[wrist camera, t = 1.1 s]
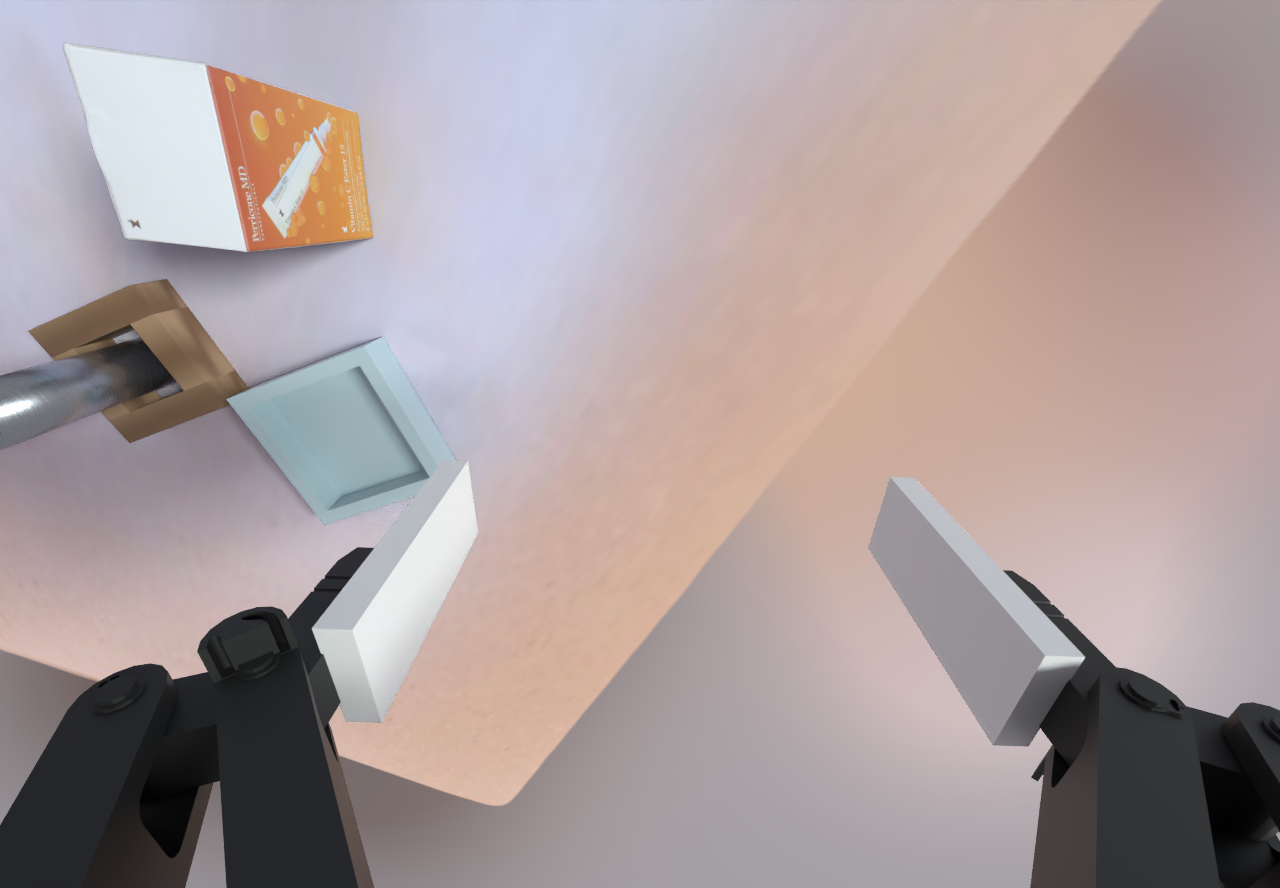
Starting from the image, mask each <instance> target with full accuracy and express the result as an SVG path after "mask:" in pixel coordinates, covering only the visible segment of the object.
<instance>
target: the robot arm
mask: <svg viewBox="0 0 1280 888" xmlns="http://www.w3.org/2000/svg"><path fill="white" fill-rule="evenodd" d="M477 534H478V530H477V523H476V515H475V508H474V501H473V494H472V487H471V480H470V472H469V465H468V461H455V460H443V461H442V462H441V463H440V465H439V466H438V467H437V469H436V470H435V471H434V472H433V474H432V475H431V476H430V478H429V479H428V480H427V481H426V483H425V484H424V485H423V487H422V488H421V489H420V490H419V492H418V493H417V494H416V496H415V497H414V498H413V499H412V501H411V502H410V503H409V504H408V506H407V507H406V508H405V510H404V511H403V512H402V513H401V515H400V516H399V517H398V519H397V520H396V521H395V522H394V524H393V525H392V526H391V528H390V529H389V530H388V531H387V533H386V534H385V535H384V536H383V538H382V539H381V540H380V542H379V543H378V544H377V545H376V547H375V548H360V547H358V548H356V549H355V550H353V551H352V552H350V553H349V554H347V555H346V556H344V557H343V558H341V559H340V560H338V561H337V562H336V564H335V565H334V566H333V567H332V568H331V569H330V571H329V572H328V573H327V574H326V575H325V579H322V580H321V581H320V582H319V583H318V585H317V586H316V587H315V588H314V592H311V593H310V594H309V595H308V596H307V598H306V599H305V600H304V601H303V602H302V603H301V605H300V606H299V607H298V608H297V609H296V610H295V612H294V613H293V614H292V615H291V616H290V617H289V619H288V618H287V616H286V615H285V613H284V612H283V611H282V610H281V609H278V608H274V607H256V608H253V609H249V610H245V611H242V612H239V613H237V614H235V615H233V616H231V617H229V618H227V619H225V620H223V621H222V622H220V623H219V624H218V625H216V626H215V627H213V628H212V629H211V630H210V631H209V632H208V633H207V634H206V635H205V636H204V638H203V639H202V640H201V641H200V645H199V648H198V651H197V652H198V654H199V656H200V657H201V659H202V661H203V663H204V665H205V667H206V669H207V671H208V672H206V673H201V674H197V675H192V676H188V677H183V678H178V679H174V680H172V678H171V676H170V675H169V673H168V671H167V670H166V669H165V668H164V667H163V666H162V665H156V664H144V665H138V666H133V667H130V668H127V669H124V670H121V671H119V672H116V673H114V674H112V675H110V676H108V677H106V678H105V679H103V680H101V681H99V682H97V683H96V684H94V685H93V686H92V687H90V688H89V689H88V690H87V691H85V692H84V693H83V694H81V695H80V696H79V697H78V698H77V699H76V701H75V702H74V703H73V704H72V705H71V707H70V708H69V709H68V711H67V712H66V714H65V716H64V717H63V719H62V721H61V722H60V724H59V726H58V728H57V729H56V731H55V733H54V734H53V736H52V738H51V740H50V741H49V743H48V745H47V746H46V748H45V750H44V751H43V753H42V755H41V757H40V759H39V760H38V762H37V763H36V765H35V767H34V769H33V770H32V772H31V774H30V775H29V777H28V779H27V781H26V782H25V784H24V786H23V787H22V789H21V791H20V792H19V794H18V796H17V798H16V799H15V801H14V803H13V804H12V806H11V808H10V810H9V811H8V813H7V815H6V816H5V818H4V820H3V821H2V823H1V825H0V888H185V886H186V881H187V878H188V875H189V871H190V867H191V864H192V860H193V856H194V852H195V849H196V845H197V841H198V838H199V834H200V830H201V826H202V823H203V819H204V815H205V811H206V808H207V804H208V801H209V797H210V793H211V790H212V786H213V782H217V781H220V788H221V803H222V820H223V836H224V851H225V868H226V885H227V888H374V886H373V882H372V878H371V875H370V871H369V867H368V864H367V860H366V856H365V852H364V849H363V845H362V841H361V837H360V834H359V830H358V827H357V823H356V819H355V815H354V811H353V808H352V804H351V801H350V797H349V793H348V789H347V785H346V782H345V778H344V774H343V771H342V767H341V763H340V760H339V756H338V752H337V748H336V745H335V741H334V737H333V734H332V730H331V727H330V725H329V721H330V719H331V717H332V716H333V714H334V712H335V711H336V709H337V707H338V706H339V704H340V707H341V709H342V712H343V715H344V718H345V720H346V722H371V723H382V722H383V720H384V718H385V716H386V714H387V712H388V710H389V708H390V706H391V704H392V702H393V700H394V698H395V696H396V694H397V692H398V690H399V688H400V686H401V684H402V682H403V680H404V678H405V676H406V674H407V672H408V670H409V668H410V666H411V664H412V662H413V660H414V658H415V656H416V654H417V652H418V650H419V648H420V647H421V645H422V643H423V641H424V639H425V637H426V635H427V633H428V631H429V629H430V627H431V625H432V623H433V621H434V619H435V617H436V615H437V613H438V611H439V609H440V607H441V605H442V603H443V601H444V599H445V597H446V595H447V593H448V591H449V589H450V587H451V585H452V583H453V581H454V579H455V577H456V575H457V573H458V571H459V570H460V568H461V566H462V564H463V562H464V560H465V558H466V556H467V554H468V552H469V550H470V548H471V546H472V544H473V542H474V540H475V538H476V536H477ZM869 550H870V551H871V553H872V554H873V556H874V558H875V559H876V561H877V562H878V564H879V565H880V567H881V569H882V570H883V572H884V573H885V575H886V576H887V578H888V579H889V581H890V583H891V584H892V586H893V587H894V589H895V591H896V592H897V594H898V595H899V597H900V599H901V600H902V602H903V603H904V605H905V607H906V608H907V610H908V611H909V613H910V615H911V616H912V618H913V619H914V621H915V622H916V624H917V626H918V627H919V629H920V630H921V632H922V633H923V635H924V637H925V638H926V640H927V641H928V643H929V645H930V646H931V648H932V649H933V651H934V652H935V654H936V656H937V657H938V659H939V661H940V662H941V664H942V665H943V667H944V668H945V670H946V672H947V673H948V675H949V676H950V678H951V680H952V681H953V683H954V684H955V686H956V687H957V689H958V691H959V692H960V694H961V695H962V697H963V699H964V700H965V701H966V703H967V705H968V706H969V708H970V710H971V711H972V713H973V714H974V716H975V717H976V719H977V721H978V722H979V724H980V726H981V727H982V729H983V730H984V732H985V733H986V735H987V737H988V738H989V740H990V741H991V743H992V744H993V745H1003V746H1004V745H1005V746H1029V745H1030V743H1031V741H1032V740H1033V738H1034V737H1035V735H1036V734H1037V732H1038V731H1039V729H1040V728H1041V729H1042V731H1043V732H1044V733H1045V735H1046V736H1047V738H1049V740H1050V742H1051V743H1052V744H1053V745H1052V746H1051V748H1050V749H1049V751H1048V752H1047V754H1046V755H1045V757H1044V758H1043V760H1042V761H1041V763H1040V764H1039V766H1038V767H1037V769H1036V770H1035V772H1034V774H1033V775H1032V778H1033V779H1035V780H1037V781H1038V780H1039V779H1040V777H1041V776H1042V775H1044V777H1043V786H1042V794H1041V802H1040V811H1039V819H1038V829H1037V836H1036V845H1035V853H1034V863H1033V870H1032V879H1031V888H1280V841H1279V839H1278V837H1277V836H1276V833H1277V832H1280V710H1277V709H1275V708H1272V707H1270V706H1266V705H1261V704H1257V703H1242V704H1240V705H1239V706H1238V707H1237V709H1236V710H1235V711H1234V712H1233V713H1232V714H1231V715H1230V716H1229V718H1226V717H1223V716H1220V715H1216V714H1212V713H1209V712H1205V711H1202V710H1198V709H1194V708H1190V707H1187V706H1185V705H1184V703H1182V701H1181V700H1180V699H1179V698H1178V697H1177V696H1176V695H1175V694H1173V693H1172V692H1171V691H1169V690H1168V689H1167V688H1165V687H1164V686H1163V685H1161V684H1160V683H1158V682H1156V681H1154V680H1152V679H1150V678H1148V677H1147V676H1145V675H1143V674H1139V673H1137V672H1134V671H1131V670H1128V669H1124V668H1116V667H1115V666H1114V665H1113V664H1112V663H1111V662H1110V661H1109V660H1108V659H1107V658H1106V657H1105V656H1104V655H1103V654H1102V653H1101V652H1100V651H1099V650H1098V649H1097V648H1096V647H1095V646H1094V645H1093V644H1092V643H1091V642H1090V641H1089V640H1088V639H1087V638H1086V637H1085V636H1084V635H1083V634H1082V633H1081V632H1080V631H1079V630H1078V629H1077V628H1076V627H1075V626H1074V625H1073V624H1072V623H1071V622H1070V621H1069V620H1068V619H1065V618H1064V615H1063V614H1062V613H1061V612H1060V611H1059V610H1058V609H1057V608H1056V607H1055V606H1054V605H1051V604H1050V601H1049V600H1048V599H1047V598H1046V597H1045V596H1044V595H1043V594H1042V593H1041V592H1040V591H1039V590H1038V589H1037V588H1036V587H1035V586H1034V585H1033V584H1031V583H1030V582H1028V581H1027V580H1025V579H1024V578H1022V577H1021V576H1019V575H1018V574H1016V573H1015V572H1013V571H1004V570H1002V569H1001V568H1000V567H999V566H998V565H997V564H996V563H995V562H994V561H993V560H992V559H991V558H990V556H988V554H987V553H986V552H985V551H984V550H983V549H982V548H981V547H980V546H979V545H978V544H977V543H976V542H975V541H974V540H973V539H972V538H971V537H970V536H969V534H967V532H966V531H965V530H964V529H963V528H962V527H961V526H960V525H959V524H958V523H957V522H956V521H955V520H954V519H953V518H952V517H951V516H950V515H949V514H948V512H947V511H946V510H945V509H944V508H943V507H942V506H941V505H940V504H939V503H938V502H937V501H936V500H935V499H934V498H933V497H932V496H931V495H930V494H929V493H928V491H927V490H926V489H925V488H924V487H923V486H922V485H921V484H920V483H919V482H918V481H917V480H916V479H915V478H898V477H890V479H889V483H888V486H887V489H886V492H885V496H884V499H883V502H882V505H881V509H880V512H879V515H878V518H877V522H876V525H875V528H874V531H873V535H872V538H871V541H870V544H869Z"/></svg>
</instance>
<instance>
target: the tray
mask: <svg viewBox="0 0 1280 888" xmlns="http://www.w3.org/2000/svg"><path fill="white" fill-rule="evenodd" d="M226 400H227V401H228V402H229V404H230V405H231V406H232V407H233V409H234V410H235V411H236V413H237V414H238V415H239V416H240V418H241V419H242V420H243V422H244V423H245V424H246V425H247V427H248V428H249V429H250V431H251V432H252V433H253V434H254V436H255V437H256V438H257V440H258V441H259V442H260V443H261V445H262V446H263V447H264V449H265V450H266V451H267V452H268V454H269V455H270V456H271V458H272V459H273V460H274V461H275V463H276V464H277V465H278V467H279V468H280V469H281V470H282V472H283V473H284V474H285V476H286V477H287V478H288V479H289V481H290V482H291V483H292V485H293V486H294V487H295V488H296V490H297V491H298V492H299V494H300V495H301V496H302V498H303V499H304V500H305V501H306V503H307V504H308V505H309V507H310V508H311V509H312V510H313V512H314V513H315V514H316V516H317V517H318V518H319V519H320V521H321V522H322V523H323V525H326V524H329V523H332V522H335V521H339V520H342V519H345V518H348V517H351V516H354V515H357V514H360V513H364V512H367V511H370V510H373V509H376V508H379V507H382V506H385V505H389V504H392V503H395V502H398V501H401V500H404V499H407V498H410V497H414V496H416V494H417V493H418V492H419V490H420V489H421V488H422V487H423V485H424V484H425V483H426V481H427V480H428V479H429V478H430V476H431V475H432V474H433V472H434V471H435V470H436V469H437V467H438V466H439V465H440V463H441V462H442V461H443V460H455V461H456V459H455V457H454V455H453V454H452V452H451V450H450V449H449V447H448V445H447V444H446V442H445V440H444V438H443V437H442V435H441V433H440V432H439V430H438V428H437V427H436V425H435V423H434V422H433V420H432V418H431V416H430V415H429V413H428V411H427V410H426V408H425V406H424V405H423V403H422V401H421V400H420V398H419V396H418V394H417V393H416V391H415V389H414V388H413V386H412V384H411V383H410V381H409V379H408V378H407V376H406V374H405V372H404V371H403V369H402V367H401V366H400V364H399V362H398V361H397V359H396V357H395V356H394V354H393V352H392V350H391V349H390V347H389V345H388V344H387V342H386V340H385V339H384V337H380V338H378V339H375V340H373V341H370V342H367V343H365V344H362V345H360V346H357V347H354V348H352V349H349V350H347V351H344V352H341V353H339V354H336V355H334V356H331V357H328V358H326V359H323V360H321V361H318V362H315V363H313V364H310V365H308V366H305V367H303V368H300V369H297V370H295V371H292V372H290V373H287V374H284V375H282V376H279V377H277V378H274V379H271V380H269V381H266V382H264V383H261V384H258V385H256V386H253V387H251V388H249V389H247V390H245V391H243V392H240V393H238V394H236V395H234V396H232V397H230V398H228V399H226Z"/></svg>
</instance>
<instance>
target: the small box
mask: <svg viewBox="0 0 1280 888" xmlns="http://www.w3.org/2000/svg"><path fill="white" fill-rule="evenodd" d="M63 50H64V53H65V56H66V59H67V63H68V66H69V69H70V72H71V75H72V79H73V82H74V85H75V89H76V92H77V95H78V98H79V101H80V104H81V107H82V110H83V113H84V117H85V120H86V124H87V128H88V132H89V136H90V140H91V144H92V147H93V150H94V153H95V156H96V159H97V161H98V164H99V166H100V168H101V171H102V173H103V176H104V178H105V180H106V183H107V186H108V189H109V192H110V195H111V198H112V201H113V204H114V207H115V210H116V212H117V215H118V218H119V221H120V224H121V227H122V231H123V234H124V236H125V238H126V239H128V240H138V241H150V242H160V243H170V244H180V245H190V246H199V247H209V248H218V249H227V250H236V251H243V252H256V251H266V250H275V249H284V248H294V247H302V246H311V245H320V244H330V243H339V242H347V241H354V240H362V239H371V238H373V231H372V226H371V220H370V213H369V206H368V198H367V190H366V182H365V174H364V165H363V156H362V147H361V138H360V128H359V118H358V114H357V113H356V112H355V111H352V110H349V109H346V108H343V107H340V106H337V105H334V104H331V103H328V102H325V101H322V100H319V99H316V98H312V97H309V96H306V95H303V94H300V93H297V92H294V91H291V90H287V89H284V88H281V87H278V86H275V85H272V84H269V83H266V82H263V81H259V80H256V79H253V78H250V77H247V76H244V75H241V74H238V73H235V72H232V71H229V70H225V69H222V68H219V67H216V66H212V65H209V64H206V63H200V62H193V61H186V60H179V59H173V58H166V57H159V56H152V55H146V54H139V53H133V52H126V51H119V50H113V49H106V48H100V47H93V46H86V45H79V44H72V43H64V44H63Z"/></svg>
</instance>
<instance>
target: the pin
mask: <svg viewBox="0 0 1280 888" xmlns="http://www.w3.org/2000/svg"><path fill="white" fill-rule="evenodd" d="M176 382H177V381H176V380H175V379H174V378H173V376H172V375H171V374H170V373H169V372H168V370H167V369H166V368H165V367H164V365H163V364H162V363H161V362H160V360H159V359H158V358H157V357H156V356H155V354H154V353H153V352H152V351H151V349H150V348H149V347H148V346H147V344H146V343H145V342H144V341H143V339H142V338H138V339H135V340H131V341H127V342H123V343H120V344H116V345H112V346H109V347H105V348H101V349H97V350H94V351H90V352H86V353H83V354H79V355H75V356H71V357H68V358H64V359H60V360H57V361H53V362H49V363H45V364H42V365H38V366H34V367H31V368H27V369H23V370H19V371H16V372H12V373H8V374H5V375H1V376H0V450H2V449H4V448H7V447H9V446H12V445H15V444H17V443H20V442H22V441H25V440H28V439H30V438H33V437H35V436H38V435H41V434H43V433H46V432H48V431H51V430H54V429H56V428H59V427H62V426H64V425H67V424H69V423H72V422H75V421H77V420H80V419H82V418H85V417H88V416H90V415H93V414H95V413H98V412H101V411H103V410H106V409H108V408H111V407H114V406H116V405H119V404H121V403H124V402H127V401H129V400H132V399H134V398H137V397H140V396H142V395H145V394H147V393H150V392H153V391H155V390H158V389H160V388H163V387H166V386H168V385H171V384H173V383H176Z"/></svg>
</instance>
